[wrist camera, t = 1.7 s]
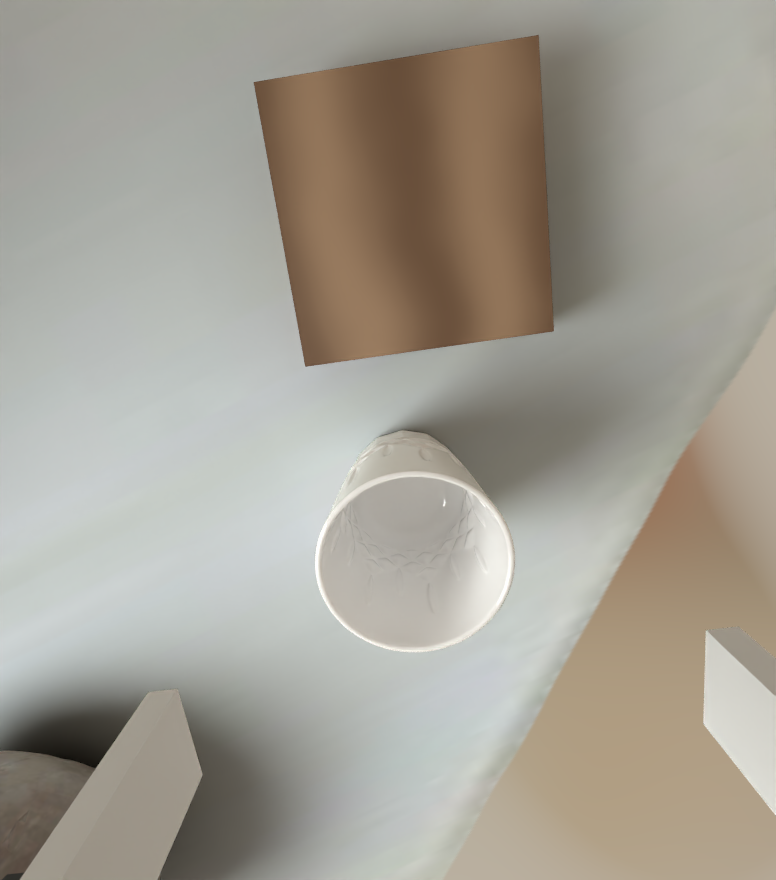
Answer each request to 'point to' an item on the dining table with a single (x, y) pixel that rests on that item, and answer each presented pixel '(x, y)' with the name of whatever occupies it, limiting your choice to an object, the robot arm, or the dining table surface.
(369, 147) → the walnut plinth
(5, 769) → the clay pot
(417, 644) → the white cup
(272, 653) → the dining table surface
